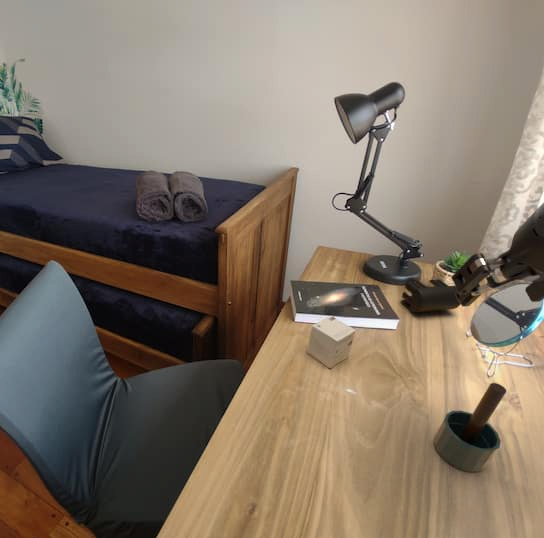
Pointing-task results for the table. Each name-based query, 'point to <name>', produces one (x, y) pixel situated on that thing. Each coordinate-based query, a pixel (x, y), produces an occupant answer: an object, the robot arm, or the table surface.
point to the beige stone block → (330, 341)
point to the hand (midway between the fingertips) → (495, 298)
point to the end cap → (430, 296)
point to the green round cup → (460, 451)
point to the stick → (482, 413)
